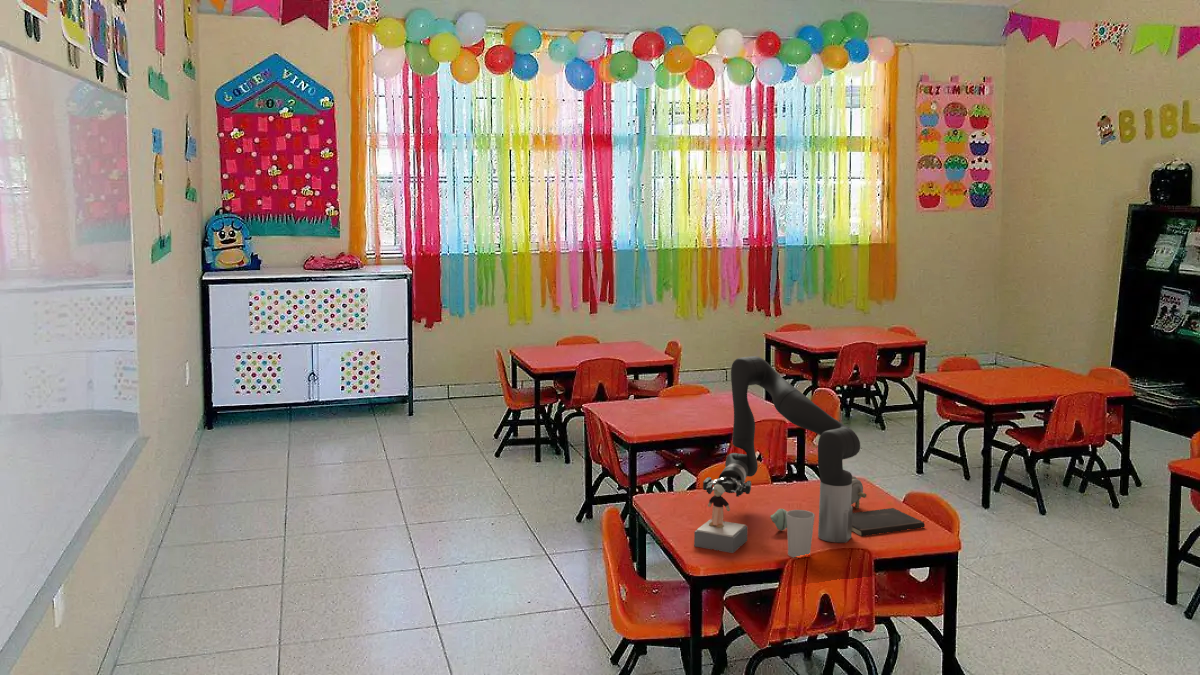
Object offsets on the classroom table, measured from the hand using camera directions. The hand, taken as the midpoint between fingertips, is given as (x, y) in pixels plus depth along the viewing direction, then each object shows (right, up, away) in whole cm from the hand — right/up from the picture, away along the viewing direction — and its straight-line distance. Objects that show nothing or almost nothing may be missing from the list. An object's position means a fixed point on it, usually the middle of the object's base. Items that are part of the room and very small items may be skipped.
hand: (723, 492), depth 313 cm
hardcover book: (+50, -13, +14) cm, 53 cm away
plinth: (-1, -14, -5) cm, 15 cm away
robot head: (+19, -13, +7) cm, 24 cm away
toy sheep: (+43, -10, +31) cm, 54 cm away
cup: (+20, -16, -14) cm, 29 cm away
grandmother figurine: (-2, -9, -5) cm, 11 cm away
